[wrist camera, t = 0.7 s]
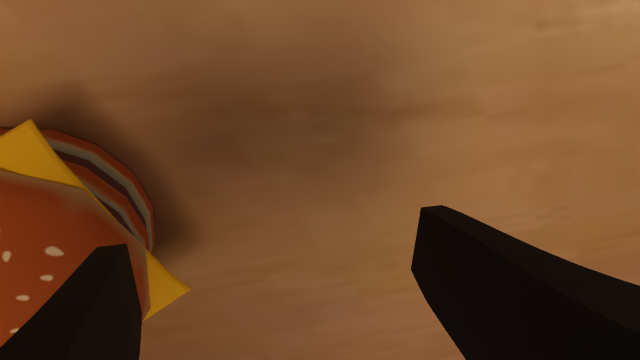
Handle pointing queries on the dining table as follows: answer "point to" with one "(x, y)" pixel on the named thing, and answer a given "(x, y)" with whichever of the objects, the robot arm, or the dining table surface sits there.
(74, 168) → the hamburger
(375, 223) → the dining table surface
